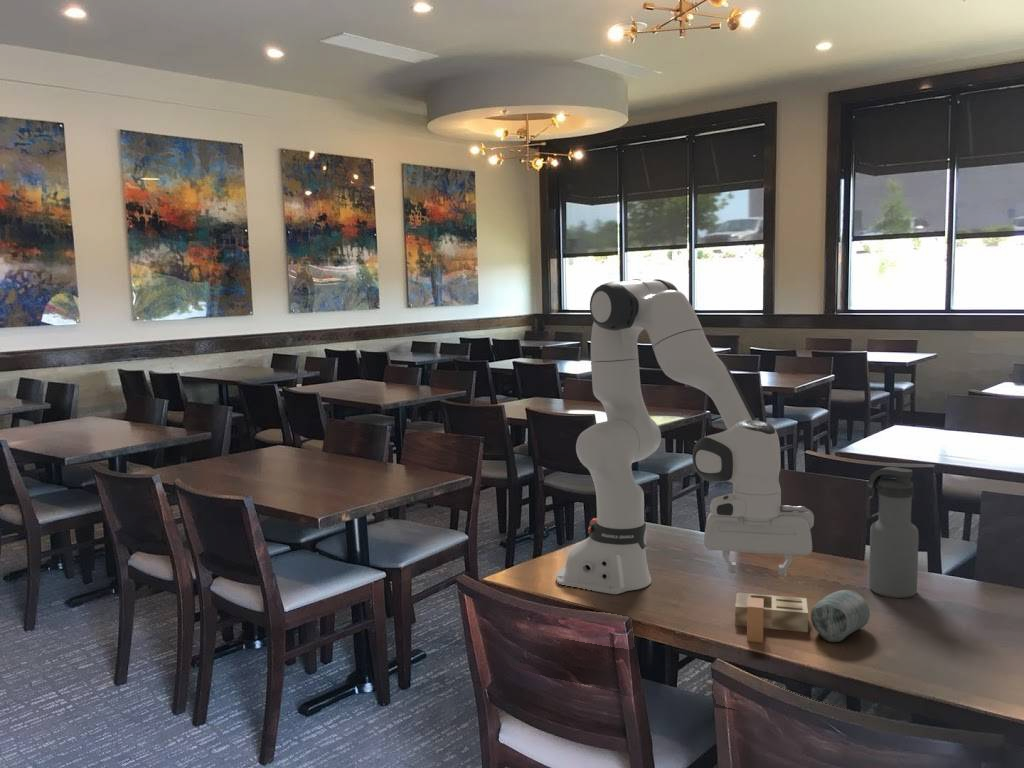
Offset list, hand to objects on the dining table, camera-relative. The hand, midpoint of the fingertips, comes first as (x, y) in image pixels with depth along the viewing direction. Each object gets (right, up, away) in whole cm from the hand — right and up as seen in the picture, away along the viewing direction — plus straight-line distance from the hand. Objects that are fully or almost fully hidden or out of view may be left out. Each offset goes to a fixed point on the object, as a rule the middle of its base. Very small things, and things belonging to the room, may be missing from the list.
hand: (757, 573), depth 158 cm
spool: (+17, -13, +2) cm, 21 cm away
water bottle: (+37, -10, +24) cm, 45 cm away
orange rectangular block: (0, -13, +2) cm, 13 cm away
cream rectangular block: (+5, -12, +9) cm, 16 cm away
